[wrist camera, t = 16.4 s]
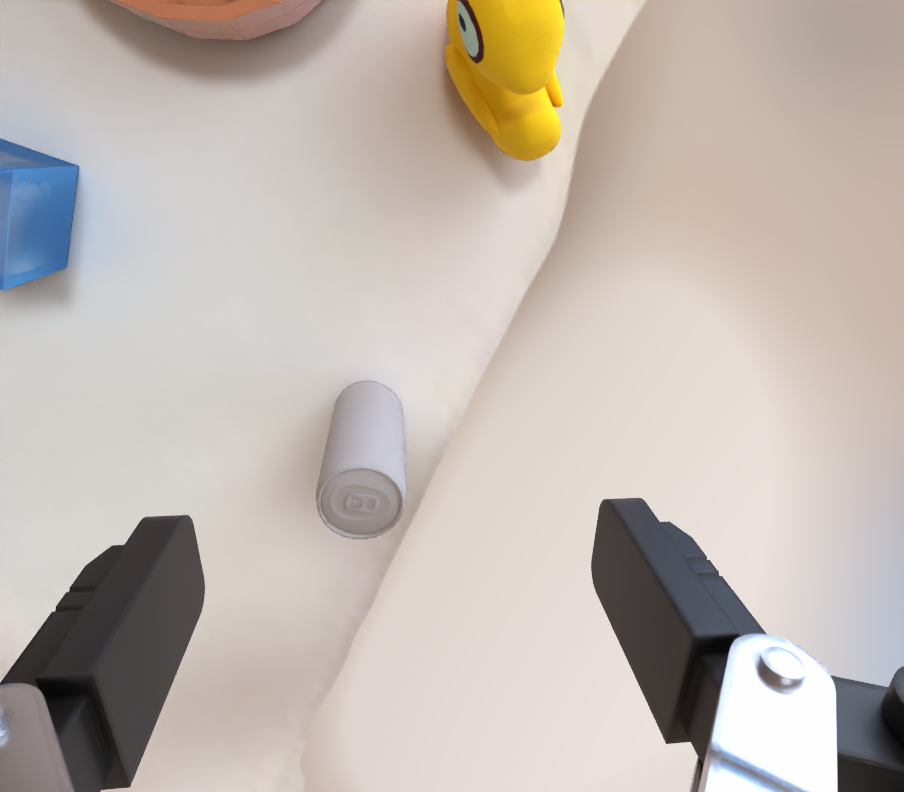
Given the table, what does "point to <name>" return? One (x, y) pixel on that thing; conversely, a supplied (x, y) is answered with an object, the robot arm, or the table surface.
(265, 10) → the bowl
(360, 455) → the beverage can
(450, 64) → the duckling
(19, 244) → the perfume bottle
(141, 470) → the table surface
